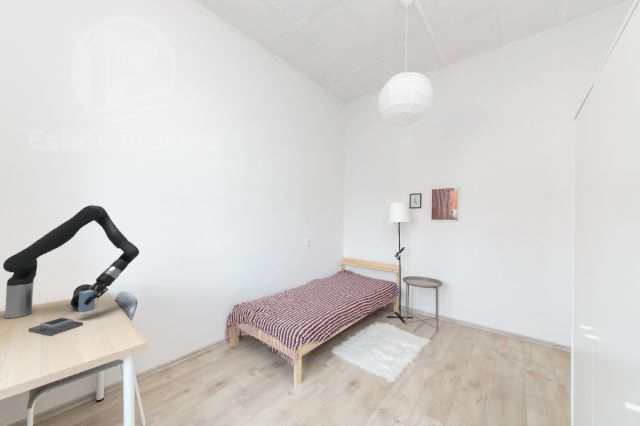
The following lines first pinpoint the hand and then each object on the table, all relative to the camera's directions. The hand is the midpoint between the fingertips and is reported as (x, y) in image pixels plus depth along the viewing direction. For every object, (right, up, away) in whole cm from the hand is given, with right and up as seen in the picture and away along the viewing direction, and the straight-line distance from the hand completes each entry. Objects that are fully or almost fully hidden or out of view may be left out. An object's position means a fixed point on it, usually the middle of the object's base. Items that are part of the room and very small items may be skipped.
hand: (82, 303), depth 127 cm
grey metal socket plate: (-3, -8, -10) cm, 13 cm away
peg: (0, -4, +2) cm, 5 cm away
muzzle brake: (-22, -10, +23) cm, 33 cm away
